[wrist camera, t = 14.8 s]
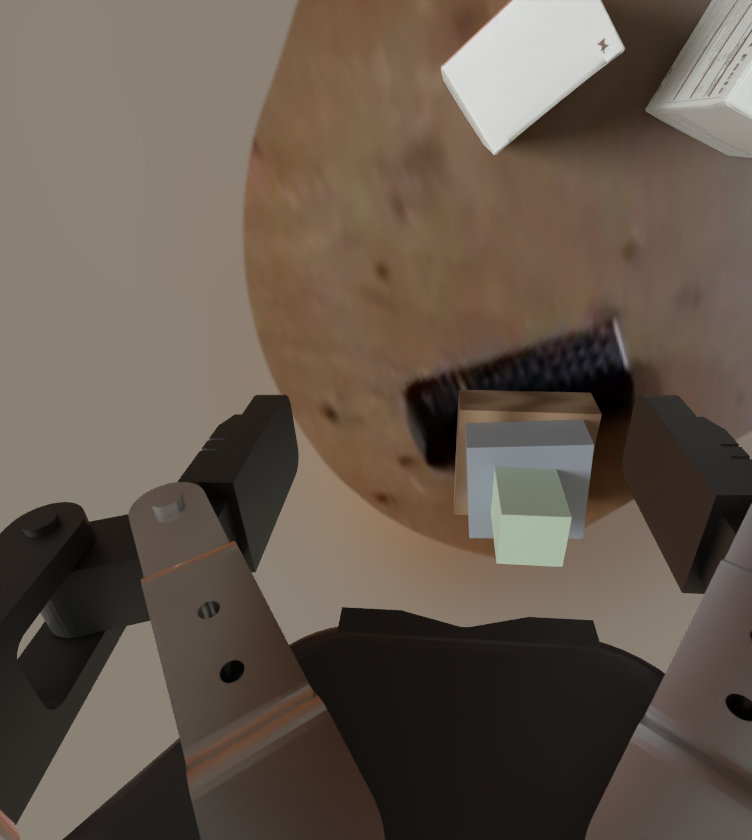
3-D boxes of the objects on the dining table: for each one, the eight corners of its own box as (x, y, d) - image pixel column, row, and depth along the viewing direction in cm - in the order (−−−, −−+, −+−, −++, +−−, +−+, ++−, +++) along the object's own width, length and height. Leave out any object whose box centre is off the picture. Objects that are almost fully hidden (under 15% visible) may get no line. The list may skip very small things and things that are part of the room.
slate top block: (582, 419, 44) (594, 444, 40) (573, 509, 49) (583, 538, 45) (465, 423, 46) (466, 447, 42) (468, 509, 50) (469, 537, 47)
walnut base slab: (589, 390, 47) (601, 414, 43) (569, 492, 53) (578, 521, 50) (459, 387, 49) (459, 410, 45) (454, 486, 55) (454, 514, 51)
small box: (541, -15, 33) (576, -66, 24) (583, 66, 35) (630, 47, 26) (440, 79, 36) (437, 65, 27) (483, 148, 38) (494, 157, 29)
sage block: (556, 469, 42) (571, 517, 37) (548, 515, 45) (562, 566, 39) (494, 467, 43) (501, 514, 38) (490, 513, 45) (496, 563, 40)
